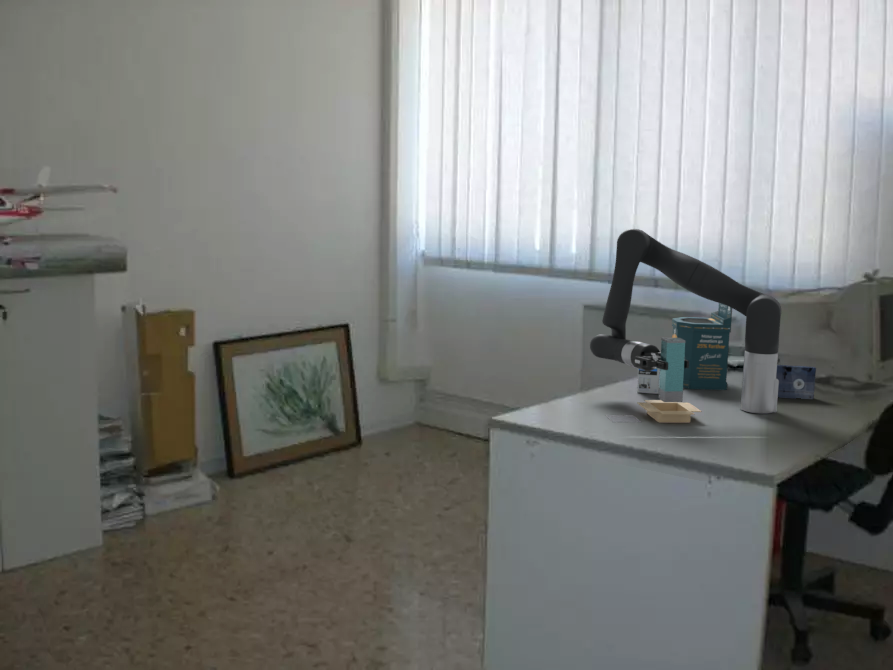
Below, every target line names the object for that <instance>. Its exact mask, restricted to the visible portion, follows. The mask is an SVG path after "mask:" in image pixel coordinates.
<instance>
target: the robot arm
mask: <svg viewBox="0 0 893 670" xmlns="http://www.w3.org/2000/svg"><path fill="white" fill-rule="evenodd" d="M640 263H642V264H644V265H646V266H649V267H651V268H653V269H656V270H657V271H659V272H660V273H662V274H663V275H665V276H666V277H667V278H668V279H670V280H671V281H672V282H674V283H675V284H677V285H678V286H680V287H682V289H685V290H687V291H689V292H691V293H692V294H693V295H694V294H695V295H697V296H699V297H701V298H704V299H707V300H709V301H711V302H714V303H718V304H719V303H721V304H724V305H727V306H729V307H731V308H732V310H735V311H736V312H738V313H740V314H742V315H743V316H744V317H745V331H744V332H745V333H744V354H743V355H744V356H743V367H742V369H743V371H742V381H741V395H740V397H741V399H740V410H741V411H742V412H743V411H744V412H747V413H753V414H771V413H777V409H778V408H777V407H778V385H779V380H778V379H776V373H777V365H778V358H779V357H778V356H779V347H780V344H779V343H780V331H781V330H780V329H781V319H782V318H781V316H782V306H781V303H780V302H779V301H778V300H777V299H776V297H773V296H772V295H769V294H765V293H763V292H761V291H758V290H756V289H753V288H750V287H748V286H745V285H743V284H741V283H740V282H738V281H736V280H735V279H733V278H732V277H731V276H729V275H728V274H726V273H724V272H722V271H720V270H718V269H717V268H715V267H714V266H711V265H710V264H708V263H706V262H704V261H702V260H699V259H697V258H695V257H693V256H690V255H689V254H686V253H683V252H680V251H678V250H675V249H673V248H671V247H669V246H667V245H665V244H663V243H662V242H660V241H658V240H657V239H656V238H654V237H653V236H652V235H650V234H648V233H647V232H645V231H643V230H641V229H640V228H629V229H626V230H624V231H623V232H621V233H620V234H619V236H618V237H617V239H616V253H615V263H614V269H613V270H614V271H613V276H612V281H611V285H610V289H609V293H608V296H607V299H606V304H605V306H604V307H605V308H604V312H603V315H602V319H601V321H602V322H601V323H602V325H603V326H605V327H607V328H610V331H611V334H610V335H609V334H605V333H602V334H601V333H600V334H596V335H595V336H593V337H592V338H591V340H590V342H589V349H590V352H591V353H592V355H593V356H594V357H597V358H600V359H605V360H611V361H612V360H613V361H616V362H619V363H621V364H625V365H627V366H630V367H632V368H635V369H637V370H638V369H642V370H645V371H651V370H654V369H657V368H659V369H663V370H668V362H665V361H662V360H661V350H659V348H658V347H657V346H656V345H655V344H654V345H653V344H650V343H645V342H643V341H637V340H636V341H634V340H630V339H627V337H626V332H627V331H626V329H627V328H626V325H627V321H628V316H629V313H630V309H631V308H630V307H631V303H632V298H633V297H632V296H633V288H634V282H635V278H636V277H635V276H636V274H637V271H638V268H639V265H640ZM684 368H689V361H688V360H685V357H684Z"/></svg>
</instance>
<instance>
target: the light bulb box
mask: <svg viewBox="0 0 893 670" xmlns="http://www.w3.org/2000/svg"><path fill="white" fill-rule="evenodd" d="M659 384H660V369H659V368H657V369H654V370H651V371H645V370H642V369H638V368H637V387H636V389H637V390H636V393H640V394H653V395H654V394H655V395H656V394H657V395H659Z"/></svg>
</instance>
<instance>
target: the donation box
mask: <svg viewBox="0 0 893 670" xmlns="http://www.w3.org/2000/svg"><path fill="white" fill-rule="evenodd" d="M732 316H733V308H731V307H729V306H727V305H724V304H721V303H718V310H717V311H714V312H711V315H710V317H693V316H691V317H689V316H682V317H674V318H671V319H672V321H671V326H672V337H671V338H681V339H683V340H685V360H688V361H689V368H684V377H683V389H688V390H712V391H713V390H715V391H716V390H717V391H727V390H728V382H727V377H728V376H727V374H728V373H727V372H728V362H729V361H728V360H729V345H730V333H732V318H733V317H732Z"/></svg>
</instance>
